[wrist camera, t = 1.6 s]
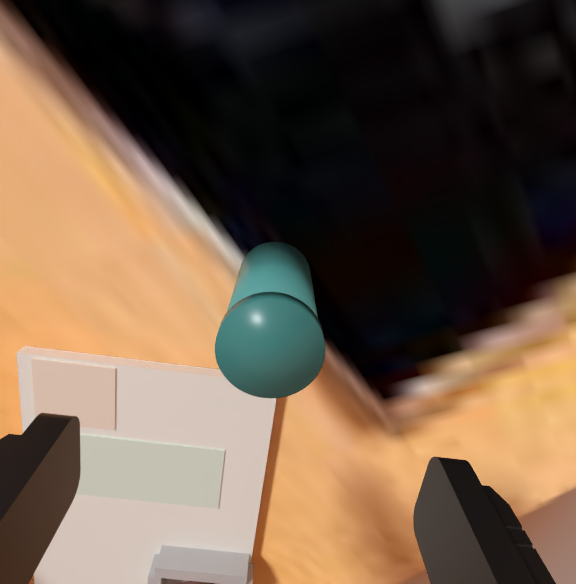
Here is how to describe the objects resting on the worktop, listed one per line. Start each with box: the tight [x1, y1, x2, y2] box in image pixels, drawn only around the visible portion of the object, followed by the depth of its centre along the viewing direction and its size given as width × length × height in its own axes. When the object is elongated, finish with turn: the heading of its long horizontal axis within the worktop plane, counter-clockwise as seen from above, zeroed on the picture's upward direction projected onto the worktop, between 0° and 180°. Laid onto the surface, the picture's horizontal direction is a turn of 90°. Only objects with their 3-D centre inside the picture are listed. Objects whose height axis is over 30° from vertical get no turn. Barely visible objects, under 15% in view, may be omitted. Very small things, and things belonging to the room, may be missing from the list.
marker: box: [215, 242, 325, 398], centre depth 20 cm, size 4×4×8 cm
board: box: [17, 346, 277, 584], centre depth 28 cm, size 14×19×2 cm
